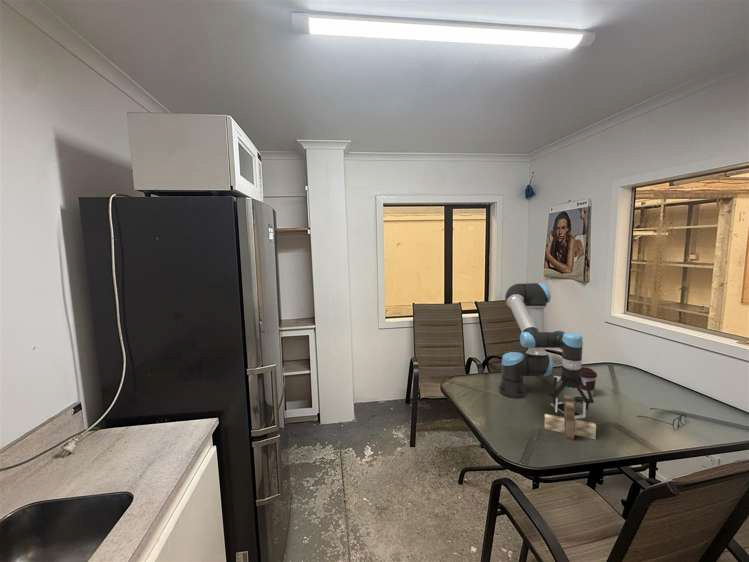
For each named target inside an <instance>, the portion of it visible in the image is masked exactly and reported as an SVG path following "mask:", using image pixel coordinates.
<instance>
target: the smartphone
mask: <svg viewBox="0 0 749 562" xmlns="http://www.w3.org/2000/svg"><path fill="white" fill-rule="evenodd" d="M550 405H551V406H552V407H553V408H555V405H554V404H553V402H552V403H550ZM557 411H559V412H561V413H563V414H564V402H562V401H558V405H557ZM585 418H586V416H585V417H583V415H582V413H580V412H579V411H576V410H575V417H574V419H575V420H579V419H580V420H581V419H585Z"/></svg>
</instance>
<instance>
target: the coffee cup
mask: <svg viewBox="0 0 749 562" xmlns="http://www.w3.org/2000/svg"><path fill="white" fill-rule="evenodd" d="M597 377H598V374H597V372H596V371H595V370H593V369H592V368H590V367H583V366H581V379H582V380H588V381H589V388H590V392H591V395H592V397H593V396H594V390H595V388H596V387H595V386H596V379H597ZM579 386H580V388H581V390H582V391H583V393H584V394H585V396H586V397H587V398H589V396H588V393H587V389H586V386H585V385H584V384H583V383H581V384H580V385H579ZM577 393H578V395H580V396H581V394H580V393H579V391H578V390H577Z"/></svg>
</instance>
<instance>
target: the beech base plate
mask: <svg viewBox="0 0 749 562" xmlns="http://www.w3.org/2000/svg"><path fill="white" fill-rule="evenodd" d="M544 429H545V430H547V431H548V430H549V431H553V432H559V433H561V434H565V430H566V427H565V419H564V416H558V415H553V414H547V413H545V414H544ZM574 436H577V437H583V438H586V439H587V438H588V439H592V440H596V437H597V425H596V422H590V421H586V420H585V421H584V420H581V419H580V420H579V419H574Z"/></svg>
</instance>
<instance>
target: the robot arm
mask: <svg viewBox="0 0 749 562" xmlns="http://www.w3.org/2000/svg"><path fill="white" fill-rule="evenodd" d="M551 298H552V296H551V291H550V288H549V287H548V285H546V284H545V283H543V282H541V283H540V282H534V283H533V282H532V283H529V282H527V283H521V282H519V283H514V284H512V285H511V286H510V287H509V288H508V289H507V290H506V292H505V295H504V299H505V303H506V305H507V307H508V308H510V309H511V312H512V314H513V316H514V318H515V321H516V323H517V325H518V328H519V329H520V331H521V333H520V334H519V342H520V345H521V347H523V348H527V350H526V352H525V355H524V354H523V353H521V352H516V351H510V352H506V353H505V354H502V358H501V380H500V381H499V385H498V393H499V394H501V395H503V396H505V397H507V398H510V399H511V398H512V399H522V398H524V397H526V396H527V389H526V385H525V383H524V377H540V378H542V377H549V376H550V375H552V372H553V370H554V362H553V359H552V357H551V356H550V355H549V353H548V352H547V351H546V349H548V348H549V349H560V350H562V351H561V352H562V353H561V355H562V356H561V375H560V376H557V375H553V381H552V383H551V386H550V388H549V390H548V392H547V393H548V396H549V397H551V398H552V403H553V404H554V405H555V407H554V411H555V413H558V409H557V405H558V402H559V401H558V396H559V395H560V394H561V393H562V391H564V389H565V388H572V389H576V390H577V392H578V391H579V393H580V394H581V395H580V394H579V395H580V396H581V398H582V399H583V400H582V413H581V414H582V415H583V417H585V418H586V412H587V411H589V408H590V407H589V405H590V404H594V403H595V402H594V398H593V396H592V395H591V392H590V388H589V381H588V380H582V379H581V367H582V364H583V363H582V358H583V345H584V343H583V336H582V334H580V333H576V332H565V331H563V330H559V329H554V330H552V331H545V311H544V309H546V307H547V304H549V303H550V301H551ZM559 381H561V384H560V385H559V386H558V387H557V389H556V386H557V383H558V382H559ZM581 383H583V384H584V385H585V386H586V389H587V393H588V396H589V397H586V396H585V394H584V393H583V391H582V390H581V388H580V386H579V385H580V384H581ZM555 389H556V390H555Z"/></svg>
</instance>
